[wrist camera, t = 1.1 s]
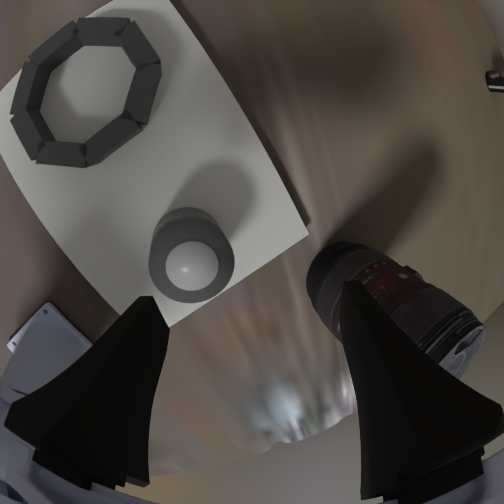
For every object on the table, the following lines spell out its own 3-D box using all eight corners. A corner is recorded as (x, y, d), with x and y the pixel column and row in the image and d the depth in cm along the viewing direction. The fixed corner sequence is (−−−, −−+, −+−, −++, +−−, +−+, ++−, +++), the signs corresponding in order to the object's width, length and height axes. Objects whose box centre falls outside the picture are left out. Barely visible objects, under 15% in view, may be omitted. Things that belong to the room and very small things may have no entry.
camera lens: (301, 237, 22) (441, 349, 9) (373, 231, 25) (501, 306, 11) (293, 317, 25) (383, 440, 12) (359, 302, 28) (455, 391, 14)
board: (147, 333, 22) (146, 358, 19) (-12, 114, 10) (-33, 112, 8) (303, 230, 22) (322, 243, 19) (154, -14, 11) (153, -35, 8)
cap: (179, 286, 20) (183, 318, 16) (137, 234, 17) (130, 259, 14) (234, 248, 20) (250, 274, 16) (197, 192, 18) (204, 206, 14)
